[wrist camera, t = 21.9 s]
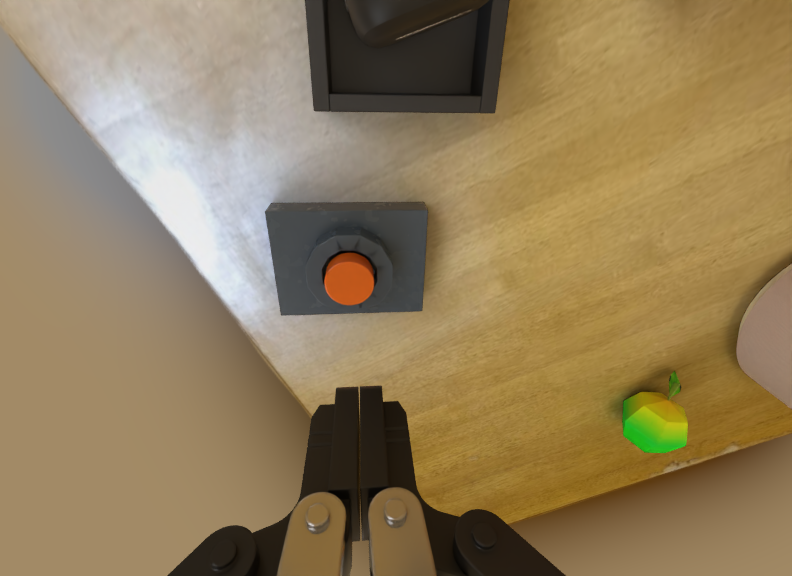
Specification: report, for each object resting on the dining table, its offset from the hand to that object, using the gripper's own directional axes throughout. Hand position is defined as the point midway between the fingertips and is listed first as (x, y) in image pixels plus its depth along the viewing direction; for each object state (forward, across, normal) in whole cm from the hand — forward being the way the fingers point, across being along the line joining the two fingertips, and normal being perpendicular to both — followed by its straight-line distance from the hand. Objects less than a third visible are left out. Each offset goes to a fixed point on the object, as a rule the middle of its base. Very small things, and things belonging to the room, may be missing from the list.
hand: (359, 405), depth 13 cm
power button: (+17, +1, +3) cm, 17 cm away
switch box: (+20, +1, +4) cm, 21 cm away
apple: (+21, -31, +21) cm, 43 cm away
